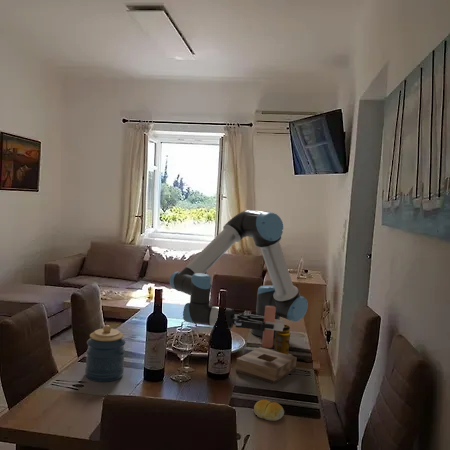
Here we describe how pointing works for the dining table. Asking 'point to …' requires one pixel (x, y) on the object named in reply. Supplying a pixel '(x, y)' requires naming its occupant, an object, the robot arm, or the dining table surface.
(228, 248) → the robot arm
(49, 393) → the dining table surface
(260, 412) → the bread roll
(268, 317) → the peg
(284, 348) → the condiment
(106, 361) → the canister
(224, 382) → the dining table surface
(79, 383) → the dining table surface
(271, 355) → the socket block
